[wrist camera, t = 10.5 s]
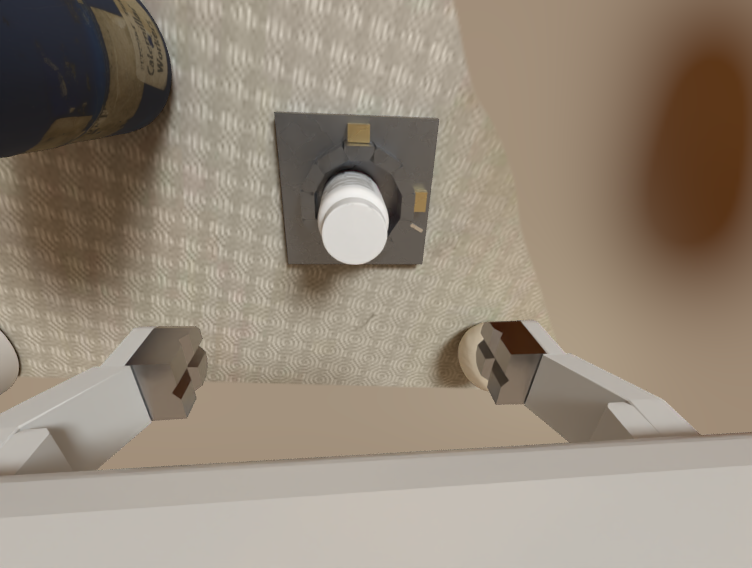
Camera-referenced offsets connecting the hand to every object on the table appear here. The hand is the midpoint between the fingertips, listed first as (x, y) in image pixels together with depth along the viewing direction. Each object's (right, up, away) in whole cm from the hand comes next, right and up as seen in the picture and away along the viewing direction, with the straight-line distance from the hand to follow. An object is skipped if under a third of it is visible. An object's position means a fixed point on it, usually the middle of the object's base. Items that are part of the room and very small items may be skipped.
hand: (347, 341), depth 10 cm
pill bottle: (-1, +9, +18) cm, 20 cm away
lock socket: (-1, +9, +19) cm, 21 cm away
